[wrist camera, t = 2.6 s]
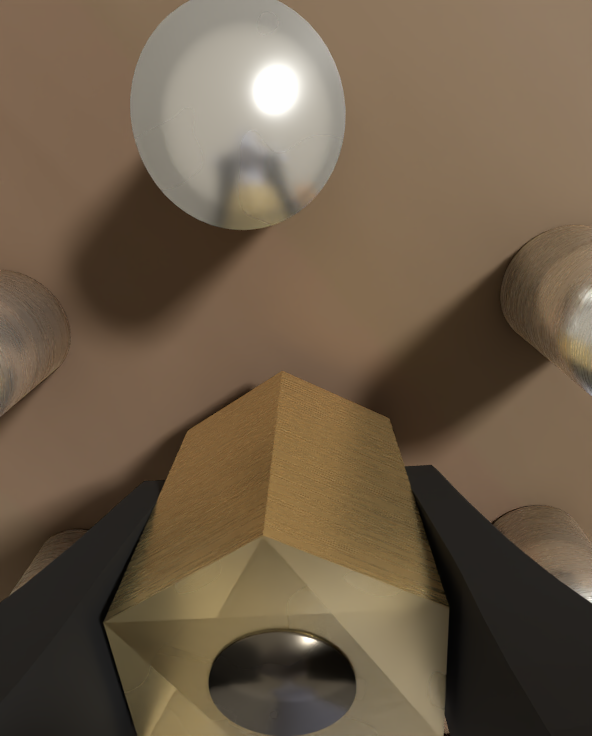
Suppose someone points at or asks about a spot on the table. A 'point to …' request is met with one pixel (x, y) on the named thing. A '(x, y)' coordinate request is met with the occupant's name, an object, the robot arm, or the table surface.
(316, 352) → the table surface
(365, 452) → the brass nut
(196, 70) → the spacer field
